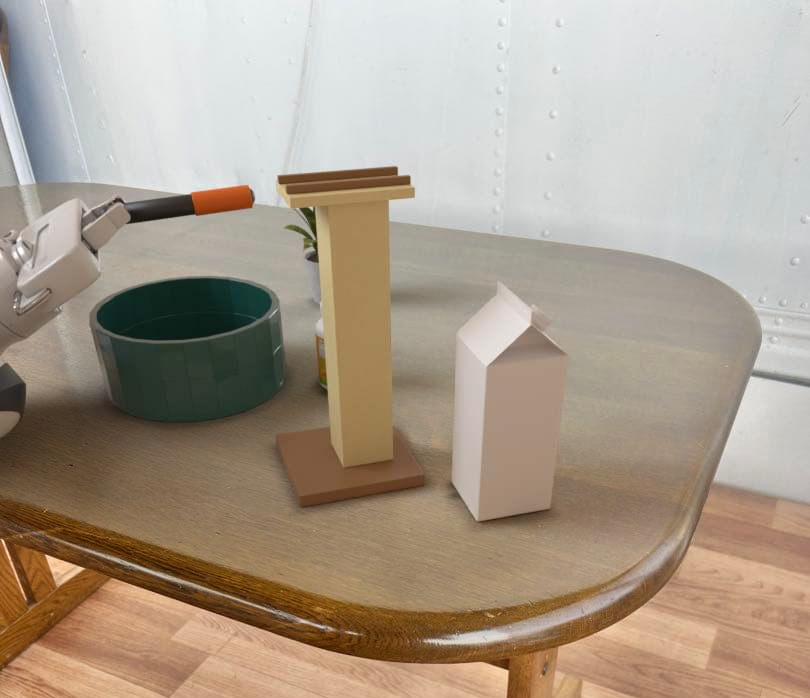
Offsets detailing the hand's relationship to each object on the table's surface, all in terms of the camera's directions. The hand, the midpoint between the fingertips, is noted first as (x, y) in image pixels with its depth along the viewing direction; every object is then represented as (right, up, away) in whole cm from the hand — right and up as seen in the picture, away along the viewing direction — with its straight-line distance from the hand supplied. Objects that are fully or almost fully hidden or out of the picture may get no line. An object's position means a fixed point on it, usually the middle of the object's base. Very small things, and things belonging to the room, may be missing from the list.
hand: (125, 205), depth 83 cm
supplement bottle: (+21, -16, +12) cm, 29 cm away
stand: (+23, -27, -2) cm, 35 cm away
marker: (+5, 0, +2) cm, 6 cm away
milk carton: (+37, -30, -7) cm, 48 cm away
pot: (+4, -15, +13) cm, 21 cm away
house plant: (+18, 0, +34) cm, 38 cm away
